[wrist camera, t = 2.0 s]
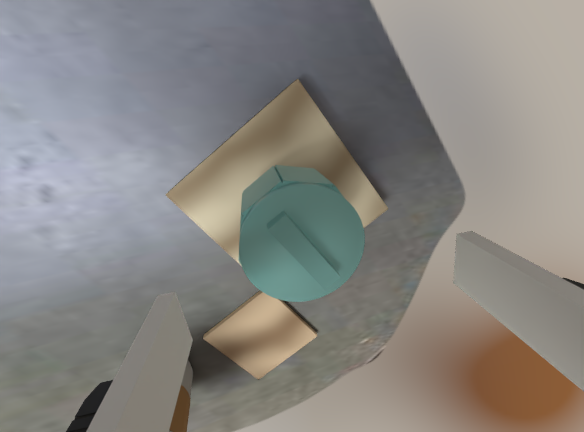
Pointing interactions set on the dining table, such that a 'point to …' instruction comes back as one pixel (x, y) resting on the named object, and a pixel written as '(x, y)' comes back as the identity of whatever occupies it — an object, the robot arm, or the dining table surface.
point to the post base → (262, 156)
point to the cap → (298, 234)
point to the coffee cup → (183, 402)
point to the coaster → (260, 334)
